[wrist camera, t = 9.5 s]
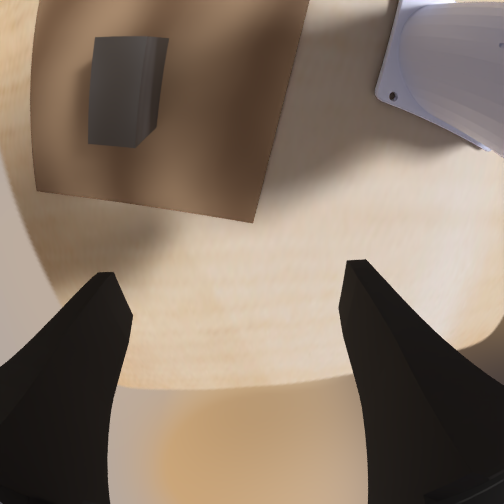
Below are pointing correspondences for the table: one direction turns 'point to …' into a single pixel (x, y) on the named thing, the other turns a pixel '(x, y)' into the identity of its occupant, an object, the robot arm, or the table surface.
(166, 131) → the lid
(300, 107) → the table surface
